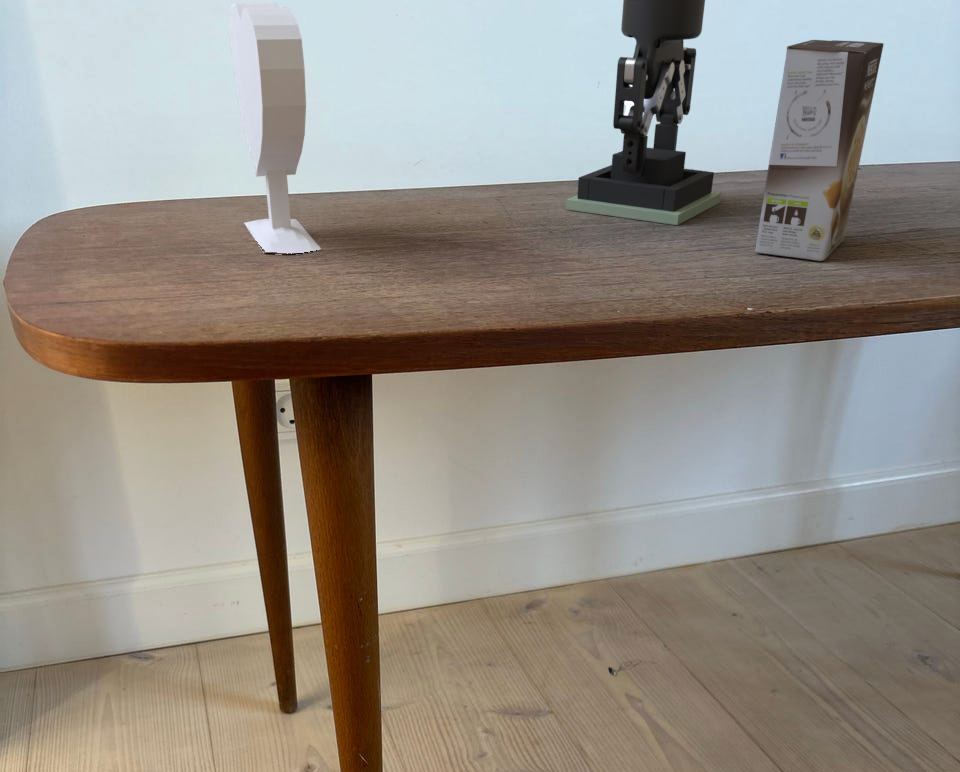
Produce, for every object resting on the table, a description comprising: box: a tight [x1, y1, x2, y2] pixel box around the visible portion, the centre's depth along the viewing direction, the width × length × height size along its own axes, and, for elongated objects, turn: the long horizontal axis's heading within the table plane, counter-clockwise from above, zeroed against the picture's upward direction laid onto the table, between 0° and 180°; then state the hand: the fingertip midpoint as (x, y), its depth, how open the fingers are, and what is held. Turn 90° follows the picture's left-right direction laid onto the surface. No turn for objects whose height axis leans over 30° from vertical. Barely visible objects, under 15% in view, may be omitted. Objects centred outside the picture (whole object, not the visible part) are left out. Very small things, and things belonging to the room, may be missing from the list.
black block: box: [611, 147, 687, 187], centre depth 106 cm, size 6×6×4 cm
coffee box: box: [754, 39, 884, 262], centre depth 91 cm, size 9×6×16 cm
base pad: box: [565, 164, 722, 226], centre depth 107 cm, size 12×12×3 cm
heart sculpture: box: [228, 2, 322, 254], centre depth 91 cm, size 16×5×18 cm, turn 19°
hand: (648, 170), depth 106 cm, fingers open, 7 cm apart
